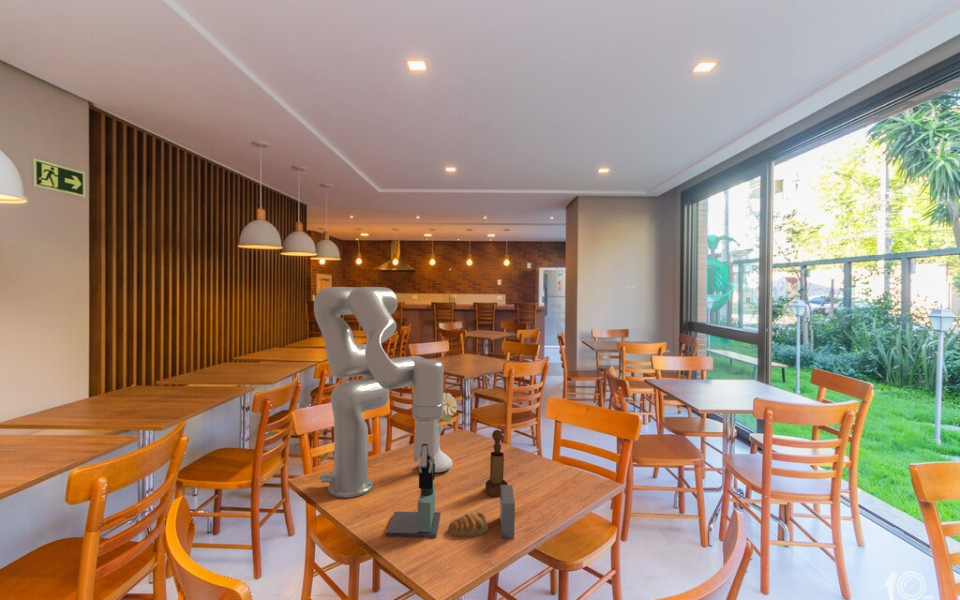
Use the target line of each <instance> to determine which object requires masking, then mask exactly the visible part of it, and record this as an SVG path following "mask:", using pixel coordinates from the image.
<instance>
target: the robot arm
mask: <svg viewBox="0 0 960 600" xmlns="http://www.w3.org/2000/svg"><path fill="white" fill-rule="evenodd" d="M314 297H315V298H314V302H313V313H314V319H315V320H316V323H317V325H318V328H319V329H320V332H321V334H322V338H323V342H324V348H325V352H326V357H327V361H328V362H327V363H328V365H329V369H330V372H331V374H332V376H333V377H335V378H337V379H345V378H354V377H359V376H362V379H356V380H348V381H345V382H342V383H339V384H338V385H336V386H335V387H334V388H333V390H332V392H331V395H330V404H331V409H332V415H333V430H334V431H333V433H334V435H333V438H334V439H333V440H334V441H333V442H334V443H333V445H334V447H333V461H334V462H333V471H332V472H331V473H330V472H329V473H328V472H321V473H320V475H319V480H320V482H321V483H323V484H326V483H328V486H327V487H328V488H327V492H328V494H330V496H332V497H337V498H345V499H346V498H355V497H359V496H362V495H364V494H367V493H369V492H370V491H371V490H372V489H373V486H374V484H373V480H372V479H371V478H369V477H368V472H369V471H368V466H369V465H368V463H369V462H368V460H369V456H368V455H369V450H368V449H369V427H368V424H367V422H366V420H365V419H364V418H363V416H362V413H365V412H368V411H371V410H377V409H379V408H382V407H384V406H385V405H386V404H387V403H388V401H389V399H390V390H394V389H400V388H405V387H412V418H413V419H414V420H415V429H414V444H413V445H414V448H413V461H415V462H417V461H418V460H419V461H420V468H419V472H418V488H419V489H420V490H421V489H432V473H433V481H434V480H435V478H436V477H435V475H436V474H435V473H436V472H435V463H434V457H435V454H436V451H437V444H438V421H439V420H440V418H441V419H442V417H443V415H444V414H443V393H444V379H445V378H444V372H445V371H444V370H445V369H444V364H443V362H441V361H440V360H436V359H428V358H425V357H423V356H420V355H409V356H402V357H395V358H394V357H393V358H390V357H389V356H388V355H387V353H386V351H385V350H384V348H383V346H382V344H383V343H384V342H386V341H387V340H389V339H390V338H392V336H393V335H394V334H395V332H396V330H397V322H396V321H395V319H394V317H392V314H394V313H395V312H396V311H397V308H398V305H399V304H398V297H397V295H396V293H395V292H394V291H393V290H392V289H391V288H388V287H384V286H382V287H381V286H360V287H358V286H357V287H356V286H354V287H353V286H352V287H349V286H330V287H326V288H322V289H321V290H320V291H318V292H317V294H316V295H315V296H314ZM352 315H353V316H354V317H355V319H356V321H357V322H358V324H359V326H360V327H361V329H362V331H363V332H364V334H365V335H366V337H367V339H366V343H361V344H360V343H359V344H356V341H355V338H354V334H353V331H352V328H351V327H350V325H349V324H348V323H347V322H346V321H345V320H344V318H342V317H341V316H352ZM427 457H430V459H427ZM432 460H433V472H431V467H432ZM427 462H429V465H428V464H427Z"/></svg>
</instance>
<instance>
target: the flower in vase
mask: <svg viewBox="0 0 960 600" xmlns="http://www.w3.org/2000/svg"><path fill="white" fill-rule="evenodd" d="M457 403H458V402H457V400H456V398H455V397H453V395H452V394H451V393H449V392H447V393H446V392H443V417H442V418H440V419H438V444H437V451H436V454H435V457H434V463H435V473H442V472H445V471H448V470H450V469H451V467H452V466H453V465H454V463H453V460H452V459H451V457H449V456H448V455H447V454H446V453H445V452H443V451H442V450H441V448H440V437H441V433H442V431H443V429H444V426H443V425H439V424H440V422H441V420H443V421H444V422H445V423H448V422H450V421H451V420H453V416H454V414H456V413H457V411H458V404H457ZM417 466H418V468H419V469H420V460H419V461H418V463H417Z"/></svg>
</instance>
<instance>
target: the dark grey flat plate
mask: <svg viewBox="0 0 960 600" xmlns="http://www.w3.org/2000/svg"><path fill="white" fill-rule="evenodd" d="M440 521H441V512H440V511H439V512H436V511H435V512H434V517H433V521H432V526H431V530H430V532H417V527H418V511H394V512H393V515H392V517H391V519H390V522H389V524H388V527H387V529H386V531H385V536H386V538H389V537H390V538H431V539H432V538H434V539H435V538H437V536H438V531H439V527H440Z"/></svg>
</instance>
